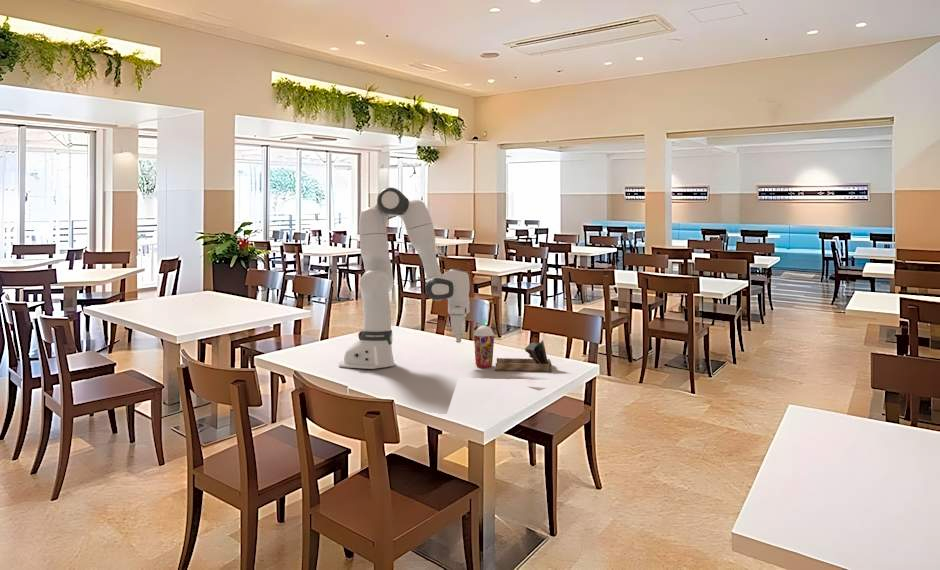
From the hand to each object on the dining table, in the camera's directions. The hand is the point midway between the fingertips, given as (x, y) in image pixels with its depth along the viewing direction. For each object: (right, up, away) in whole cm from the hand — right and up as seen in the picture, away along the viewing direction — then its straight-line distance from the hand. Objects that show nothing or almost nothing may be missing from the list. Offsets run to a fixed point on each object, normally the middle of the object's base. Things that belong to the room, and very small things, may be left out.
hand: (458, 342), depth 252 cm
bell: (+31, -11, -1) cm, 33 cm away
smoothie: (+10, -11, -1) cm, 15 cm away
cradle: (+26, -10, -2) cm, 28 cm away
